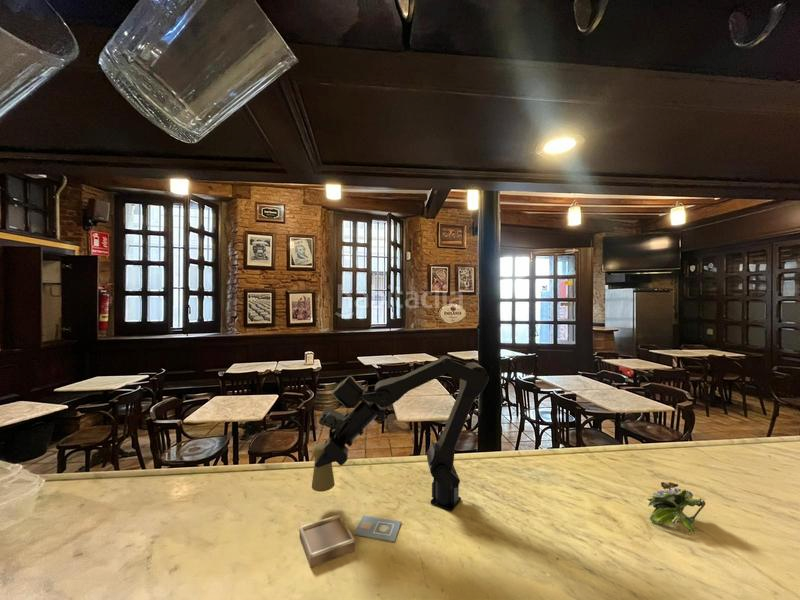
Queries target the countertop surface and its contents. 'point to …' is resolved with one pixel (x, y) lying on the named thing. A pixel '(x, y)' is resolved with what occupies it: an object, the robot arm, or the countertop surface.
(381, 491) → the countertop surface
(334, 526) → the brown square tray
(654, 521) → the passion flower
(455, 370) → the robot arm
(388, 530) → the blueprint card
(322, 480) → the olive pawn figure
